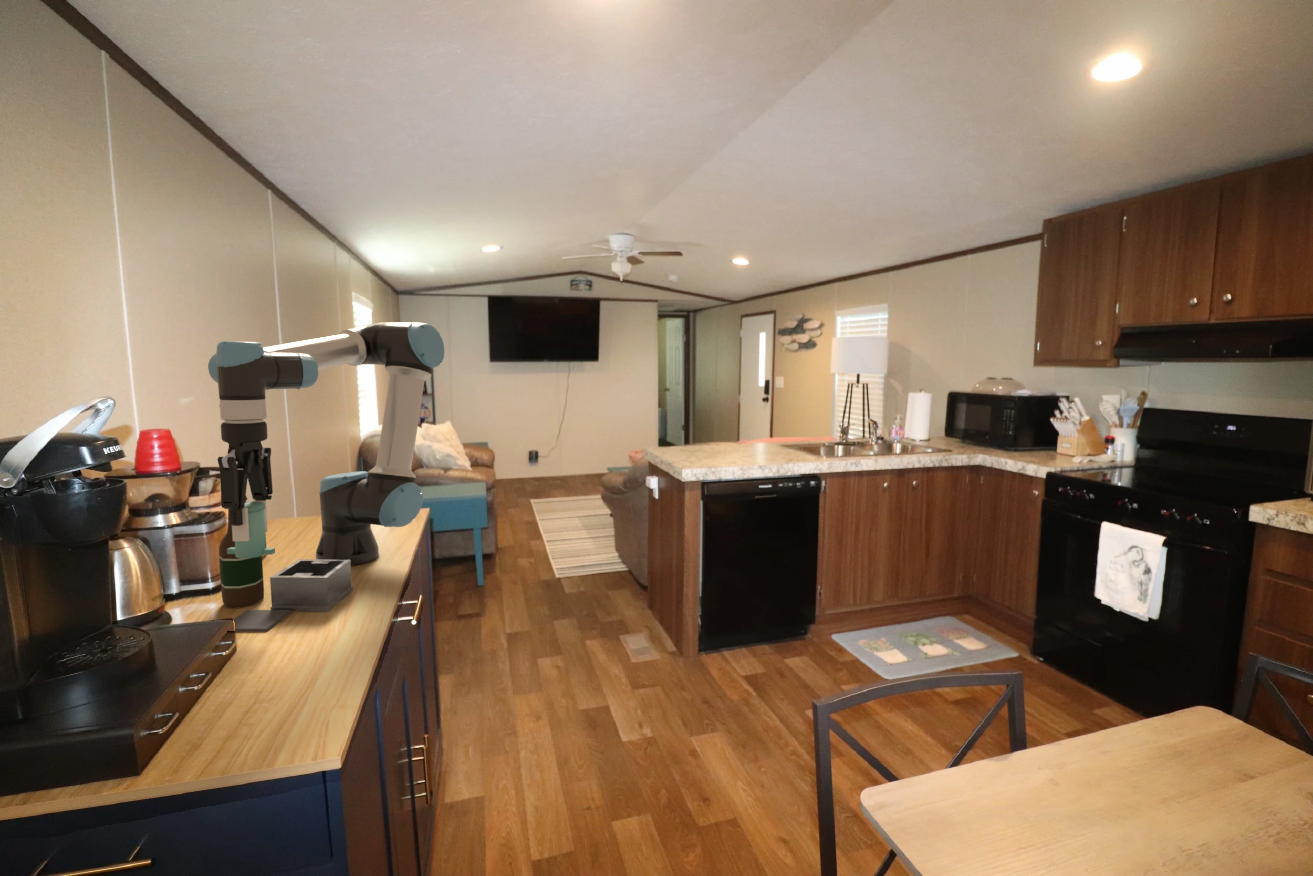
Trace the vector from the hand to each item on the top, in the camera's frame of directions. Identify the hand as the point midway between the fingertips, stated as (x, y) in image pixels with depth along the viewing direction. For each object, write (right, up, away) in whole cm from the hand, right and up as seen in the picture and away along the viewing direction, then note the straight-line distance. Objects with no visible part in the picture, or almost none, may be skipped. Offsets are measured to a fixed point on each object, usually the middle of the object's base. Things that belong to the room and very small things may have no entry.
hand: (250, 535), depth 122 cm
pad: (0, -18, +2) cm, 18 cm away
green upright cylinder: (0, -4, +1) cm, 4 cm away
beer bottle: (-10, -17, +12) cm, 23 cm away
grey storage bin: (+5, -17, +14) cm, 22 cm away
